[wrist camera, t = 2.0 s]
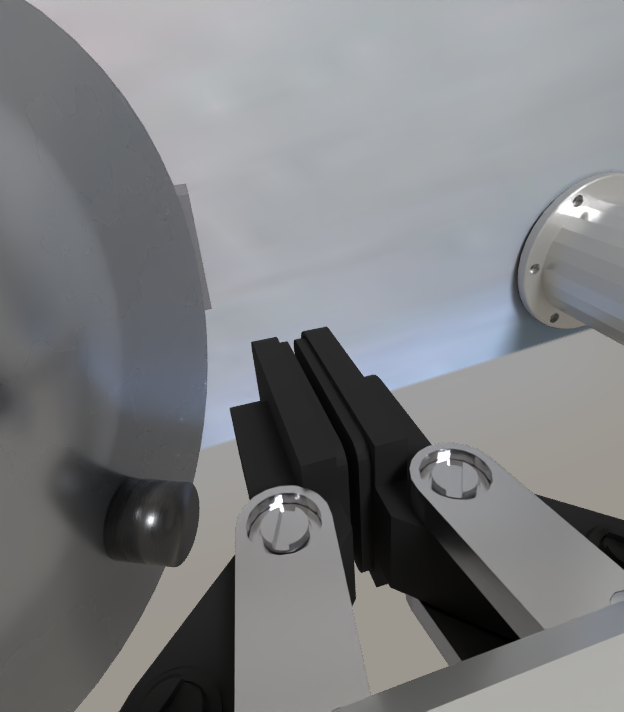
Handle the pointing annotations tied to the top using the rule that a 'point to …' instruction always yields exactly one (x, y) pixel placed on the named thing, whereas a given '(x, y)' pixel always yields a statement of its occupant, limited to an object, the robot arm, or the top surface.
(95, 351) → the cooker lid
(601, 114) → the top surface
